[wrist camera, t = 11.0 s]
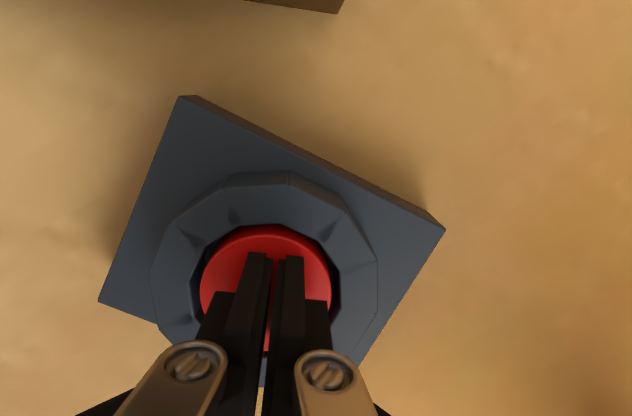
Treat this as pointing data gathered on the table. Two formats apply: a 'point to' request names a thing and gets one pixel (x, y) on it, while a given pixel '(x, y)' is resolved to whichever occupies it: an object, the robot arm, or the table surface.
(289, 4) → the panel
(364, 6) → the table surface
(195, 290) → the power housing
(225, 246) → the power button
